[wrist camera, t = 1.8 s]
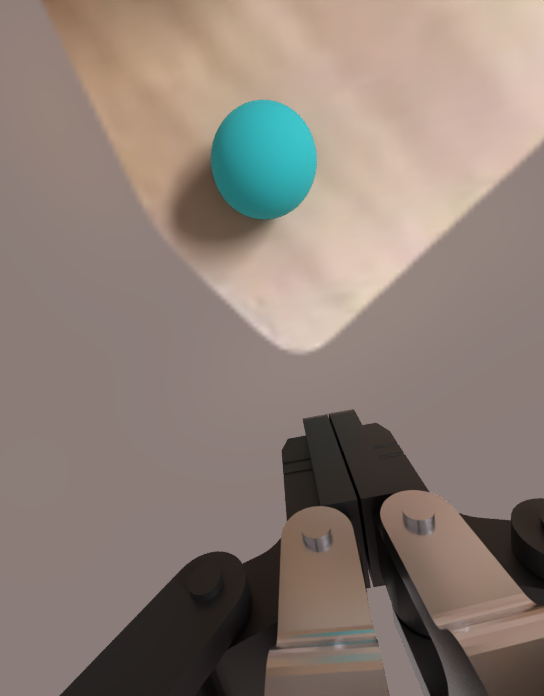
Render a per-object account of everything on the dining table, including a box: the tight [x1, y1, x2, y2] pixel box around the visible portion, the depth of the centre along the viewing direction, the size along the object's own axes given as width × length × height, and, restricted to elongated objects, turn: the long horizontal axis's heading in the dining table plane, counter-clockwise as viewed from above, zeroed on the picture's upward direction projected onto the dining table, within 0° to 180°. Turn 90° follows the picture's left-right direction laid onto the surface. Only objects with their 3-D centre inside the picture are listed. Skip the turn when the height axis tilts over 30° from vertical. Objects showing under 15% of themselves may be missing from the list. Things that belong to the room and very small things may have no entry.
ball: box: [211, 100, 317, 219], centre depth 20 cm, size 6×6×6 cm
